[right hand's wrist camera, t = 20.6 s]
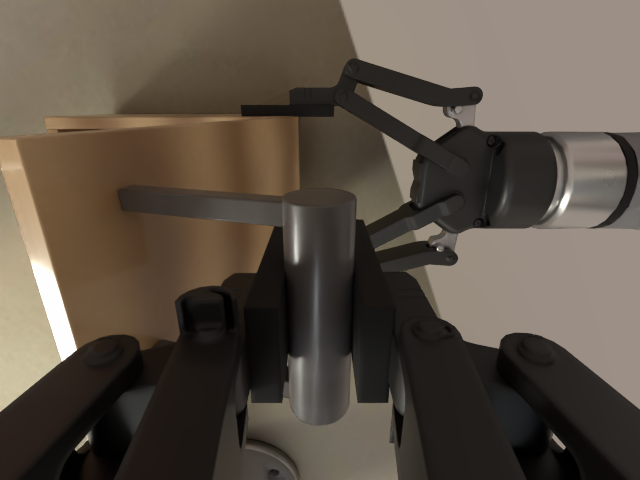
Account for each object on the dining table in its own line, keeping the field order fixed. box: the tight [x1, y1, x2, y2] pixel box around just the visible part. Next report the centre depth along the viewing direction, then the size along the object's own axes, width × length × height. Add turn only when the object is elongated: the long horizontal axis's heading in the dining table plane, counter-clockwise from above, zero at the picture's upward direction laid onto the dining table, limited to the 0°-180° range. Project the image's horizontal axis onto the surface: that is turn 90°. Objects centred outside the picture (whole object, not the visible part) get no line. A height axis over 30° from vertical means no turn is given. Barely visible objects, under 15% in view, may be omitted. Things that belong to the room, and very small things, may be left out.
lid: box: [0, 117, 357, 440], centre depth 17 cm, size 18×10×8 cm
